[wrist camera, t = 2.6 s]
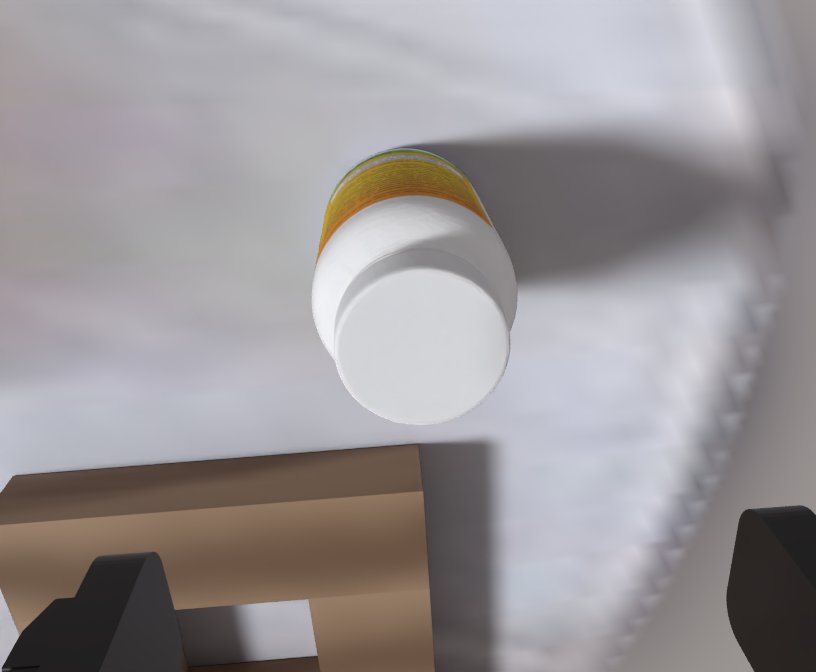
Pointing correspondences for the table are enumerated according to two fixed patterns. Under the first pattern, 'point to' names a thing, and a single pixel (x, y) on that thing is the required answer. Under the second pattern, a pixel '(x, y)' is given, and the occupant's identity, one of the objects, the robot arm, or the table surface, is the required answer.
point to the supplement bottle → (413, 289)
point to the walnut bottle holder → (244, 545)
